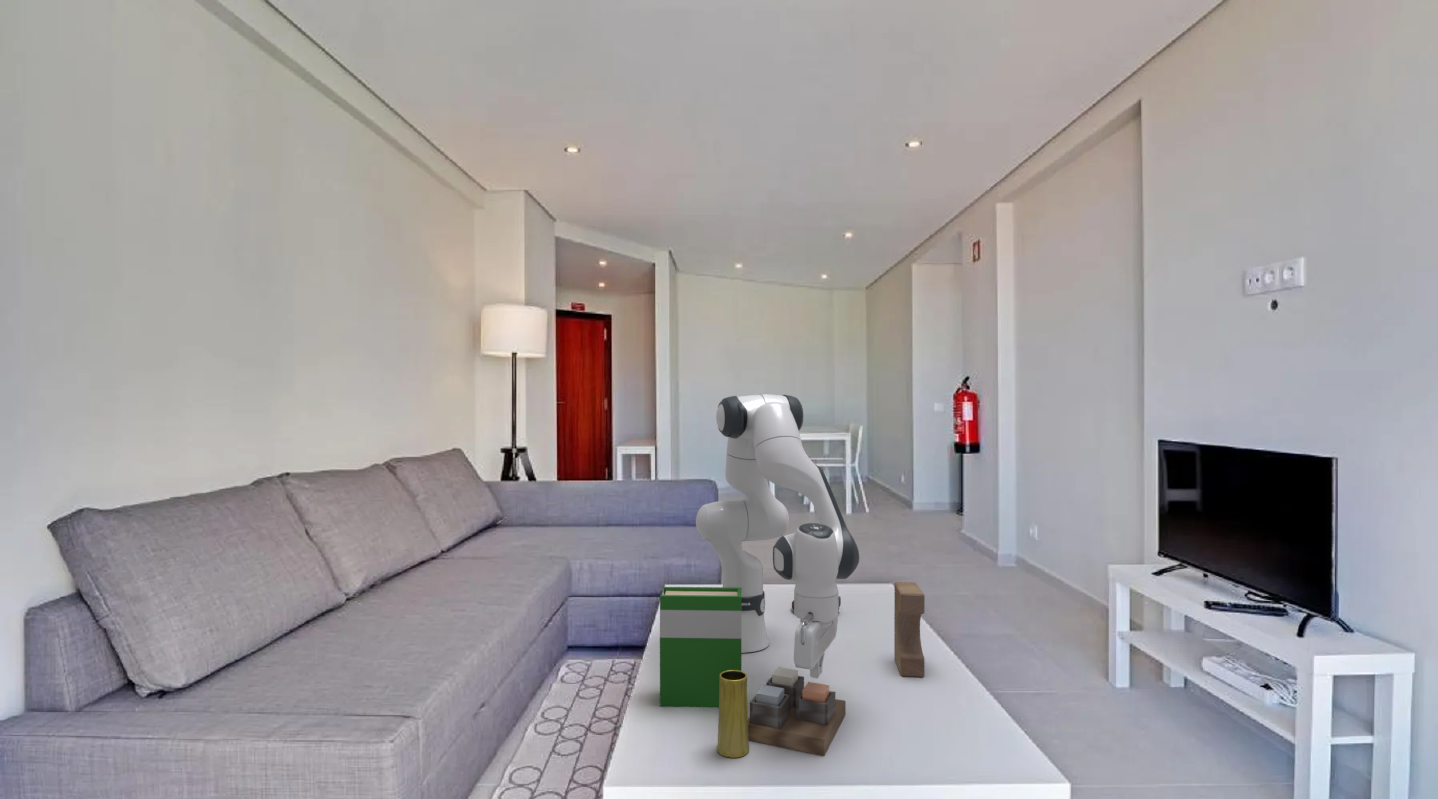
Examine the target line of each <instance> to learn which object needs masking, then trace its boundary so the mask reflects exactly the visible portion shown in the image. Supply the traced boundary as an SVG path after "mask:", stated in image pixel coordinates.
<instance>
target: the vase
mask: <svg viewBox="0 0 1438 799" xmlns="http://www.w3.org/2000/svg"><path fill="white" fill-rule="evenodd" d="M717 724H718V725H717V727H718V728H717V745H716V750H717V752H718V753H719V754H720V755H721V756H723V757H726V758H729V759H730V758H731V759H736V758H737V759H738V758H742V757H744V756H746V755H747V754H748V753H749V751H750V740H748V675H747V673H746V672H744V671H742V670H741V671H739V670H727V671H723V672H722V673H720V676H719V708H718V723H717Z"/></svg>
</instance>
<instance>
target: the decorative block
mask: <svg viewBox="0 0 1438 799" xmlns="http://www.w3.org/2000/svg"><path fill="white" fill-rule="evenodd" d="M925 599H926V598H925V594H924V592H923V591H922V590H921V587H919V585H918V583H917V582H914V581H913V582H911V581H907V582H906V581H895V582H894V607H893V609H894V614H893V615H894V618H893V619H894V630H893V632H894V633H893V634H894V657H893V659H894V661H895V664H896V666H897V669H898V671H899V673H900V676H902V677H905V676H908V677H909V678H912V677H913V678H924V677H925V655H924V653H923V648H922V640H921V619H922V615H924V614H925ZM908 677H907V678H908Z"/></svg>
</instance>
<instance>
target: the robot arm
mask: <svg viewBox="0 0 1438 799" xmlns="http://www.w3.org/2000/svg"><path fill="white" fill-rule="evenodd" d="M717 405H718V406H717V410H716V415H715V416H716V417H715V418H716V419H715V420H716V424H717V428H718V430H719V432H720V433H721V434H722V435H723V436H724V437H726V438H727V443H726V444H727V446H726V461H725V480H726V482H727V483H728V484H729V486H731V488H733V489H735V490H737V491H738V492H741V493H743V494H745V497H744V499H741V500H740V499H739V500H718V501H714V502H708V503H706V504H703V505H701V507H699V510H698V511H697V513H696V517H695V527H696V530H697V532H698V535H699V536H700V537H701V538H702V539H703V540H704V541H705V542H707V543H708V544H709V545H711V547H712V548H713V549H714V550H715V552H716V554H717V555H718V558H719V561H720V565H721V576H722V577H721V578H722V587H737V588H742V589H741V654H744V653H752V652H759V651H762V650H764V649H766V648H767V647H769V646H770V641H769V637H768V634H767V629H766V628H767V627H766V621H765V612H766V611H765V610H766V598H765V593H766V592H765V590H764V567H763V566H764V565H763V563H762V561H761V559H759V558H758V557H757V556H755V555H754V554H752V553H750V552H748V551H745V550H743V544H742V543H743V542H747V541H753V542H754V541H768V540H771V539H775V538H776V539H777V538H778V539H777V540H776V542H775V543H774V546H773V547H772V564H773V570H774V571H775V573H777V574H778V575H779V576H780V577H781V578H782V579H784V580H786V581H794V583H795V584H794V590H793V601H794V609H793V615H794V616H795V617H796V618H798V619H799V620H800V621H799V622H800V623H799V624H798V626H797V627H796V630H795V633H794V644H793V649H794V650H793V663H794V666H795V667H796V668H799V669H804V670H809V675H810V677H811V678H813V679H819V677H821V675H822V673H823V664H824V663H823V662H824V659H825V652H827V650H828V648H829V647H830V646H831V644H832V643H833V642H834V640H835V639H836V636H837V631H838V621H839V620H838V618H839V610H840V607H841V605H842V598H841V596H840V595H839V588H838V584H837V580H846V579H848V578H849V577H850V576H852V574H853V573H854V572H855V570H856V569H857V568H858V565H859V563H860V551H859V548H858V545H857V543H856V541H855V539H854V537H853V536H852V535H853V534H852V533H851V532H850V531H849V528H848V527H847V523H846V522H845V520H844V517H843V515H842V513H841V510H840V507H839V505H838V502H837V500H836V497H835V495H834V493H833V490H832V487H831V485H830V483H829V481H828V479H827V476H826V474H825V473H824V471H823V469H822V468H821V467H820V466H819V465H817V464H816V463H814V462H813V461H812V460H811V458H810V457H809V455H808V454H807V453H806V451H805V449H804V446H803V441H802V438H801V434H800V430H801V429H802V427H803V424H804V408H803V405H802V402H801V401H800V400H799V399H798V398H797V397H796V396H793V395H788V394H782V395H781V394H780V395H778V394H769V393H759V394H751V395H740V396H737V395H730V396H728V397H724V398H722V400H721V401H720V402H719V403H718V404H717ZM769 482H770V483H772V484H773V485H777V486H779V487H782V488H785V489H789V490H791V491H794V492H797V493H799V494H801V495H803V496H805V498H807V499H808V500H809V501H810V502H811V504H812V506H813V507H814V510H815V512H816V515H817V517H818V521H819V523H815V522H813V523H812V522H809V523H803V524H800V525H799V526H798V527H797V528H796V529H795V530H796V531H795V532H793V533H790V534H786V532H787V531H788V528H789V525H790V516H789V512H788V509H787V507H786V506H785V505H784V504H783V502H781V501H780V500H779V499H777V498H776V497H775V496H774V494H773V492H772V491H771V489H770V485H769ZM785 534H786V535H785Z"/></svg>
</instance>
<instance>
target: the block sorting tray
mask: <svg viewBox="0 0 1438 799" xmlns="http://www.w3.org/2000/svg"><path fill="white" fill-rule="evenodd" d="M765 685H768V686H774V687H779V688H784V700H783V702H782V703H781V704H780V706H773V705H768V704H762V703H757V702H756V695H754V697H752V699H751V701H749V718H747V720H748V741H749V742H750V741H751V742H756V743H760V744H764V745H771V746H776V747H778V748H779V747H781V748H785V749H790V750H794V751H800V752H804V753H810V754H814V755H819V756H823V757H824V756H825V755H826V754H827V752H828V750H829V748H830V746H831V744H832V742H833V740H834V738H835V736H836V734H837V733H838V730H839V728H840V726H841V724H842V722H843V721H844V718H845V717H846V707H847V706H846V700H845V699H838V698H836V691H833V690H831V691H830V690H829V698H828V700H827V702H826V703H822V702H816V701H811V700H805V699H802V690H803V689H804V687H805V677H804V675H803V676H802V675H798V681H797V683H796V684H795V685H794V687H793V686H787V685H781V684H775V683H772V676H771V677H770V678H769V679H768V681H767V682H766V684H765Z"/></svg>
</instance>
